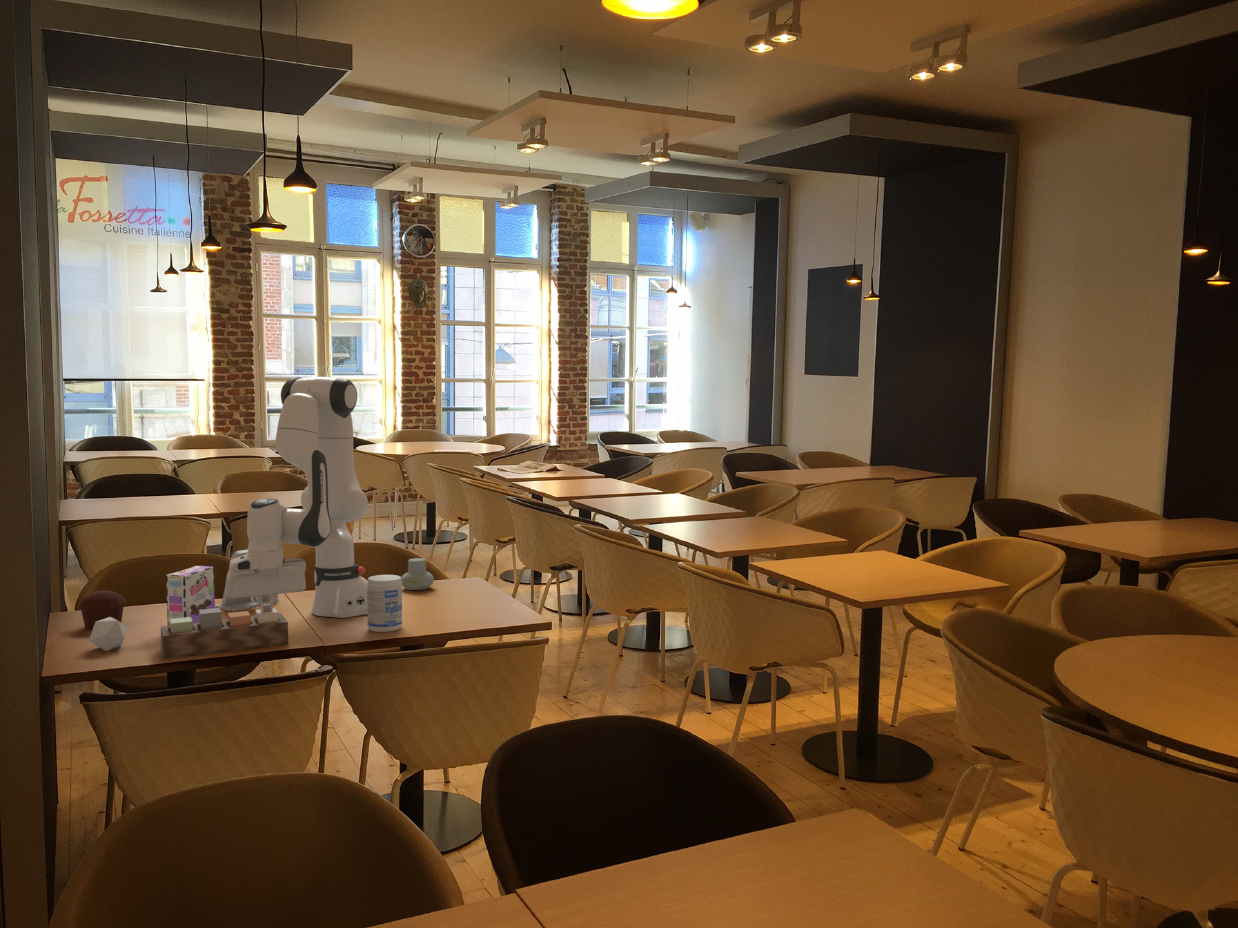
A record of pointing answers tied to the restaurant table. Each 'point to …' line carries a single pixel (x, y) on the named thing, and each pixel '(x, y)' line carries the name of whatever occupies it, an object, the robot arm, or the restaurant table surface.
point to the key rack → (223, 638)
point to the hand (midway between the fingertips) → (266, 610)
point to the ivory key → (266, 616)
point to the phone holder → (241, 602)
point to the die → (108, 633)
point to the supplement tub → (384, 603)
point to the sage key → (181, 625)
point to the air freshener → (417, 575)
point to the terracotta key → (239, 618)
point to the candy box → (190, 592)
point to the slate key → (210, 618)
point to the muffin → (101, 607)
